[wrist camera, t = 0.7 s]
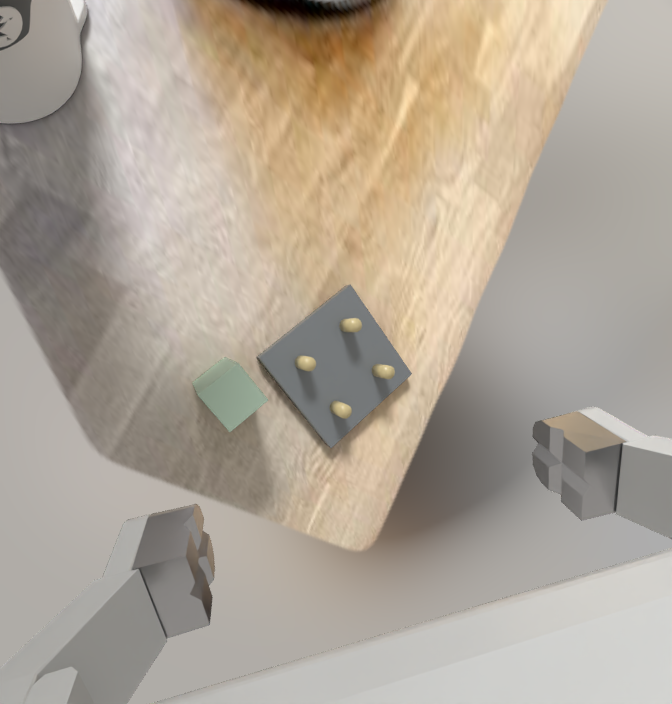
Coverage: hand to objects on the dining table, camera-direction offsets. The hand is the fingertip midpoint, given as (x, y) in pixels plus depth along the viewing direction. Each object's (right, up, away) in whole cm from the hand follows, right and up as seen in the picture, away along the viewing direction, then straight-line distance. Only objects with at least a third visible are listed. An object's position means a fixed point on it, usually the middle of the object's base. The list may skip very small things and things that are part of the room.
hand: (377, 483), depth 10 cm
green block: (-14, -1, +39) cm, 41 cm away
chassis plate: (-1, +1, +43) cm, 43 cm away
